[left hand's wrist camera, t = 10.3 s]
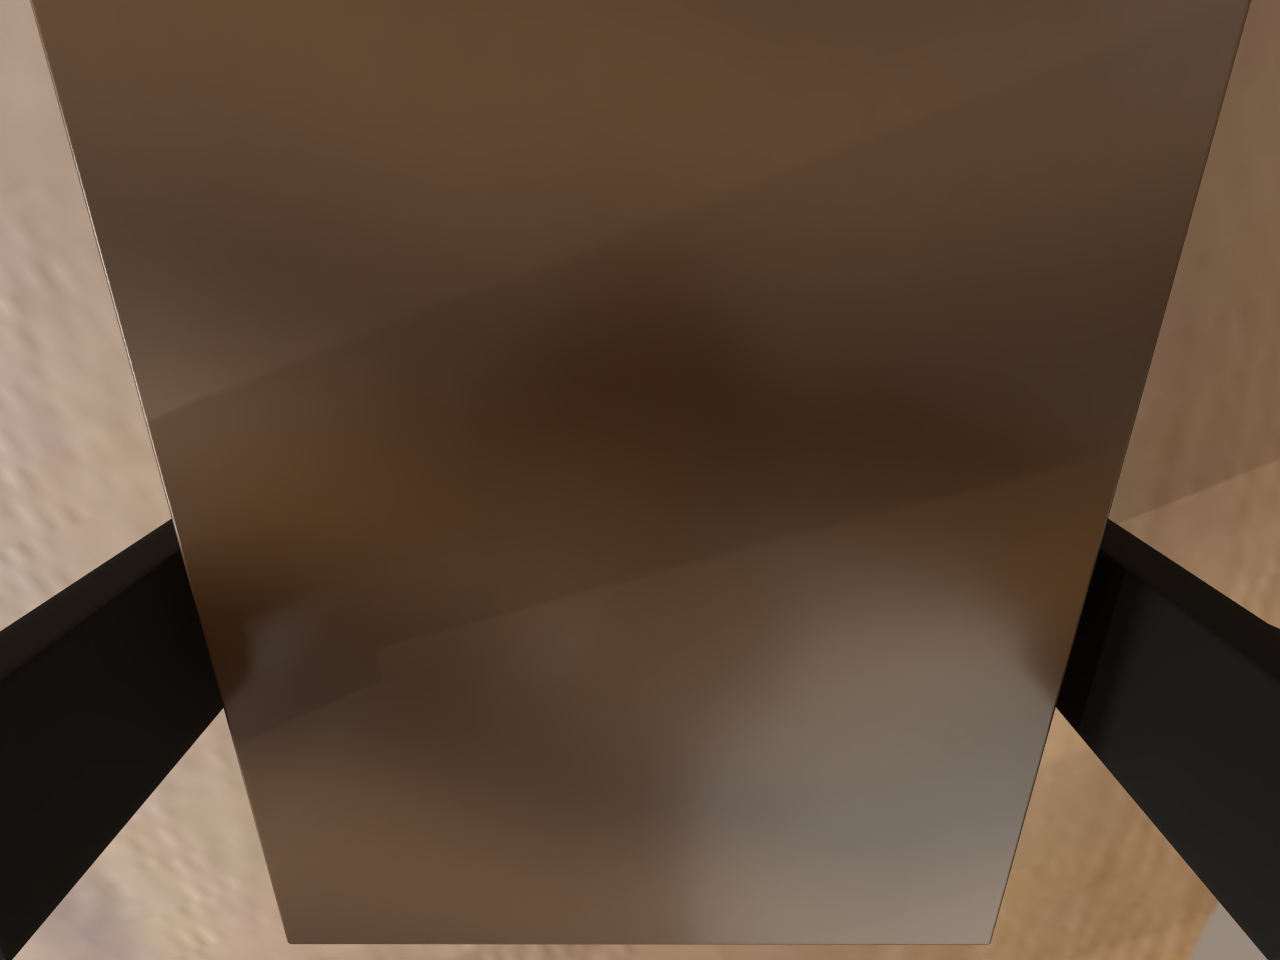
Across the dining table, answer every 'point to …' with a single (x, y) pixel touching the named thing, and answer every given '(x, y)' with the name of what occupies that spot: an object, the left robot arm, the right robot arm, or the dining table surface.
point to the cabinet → (639, 429)
